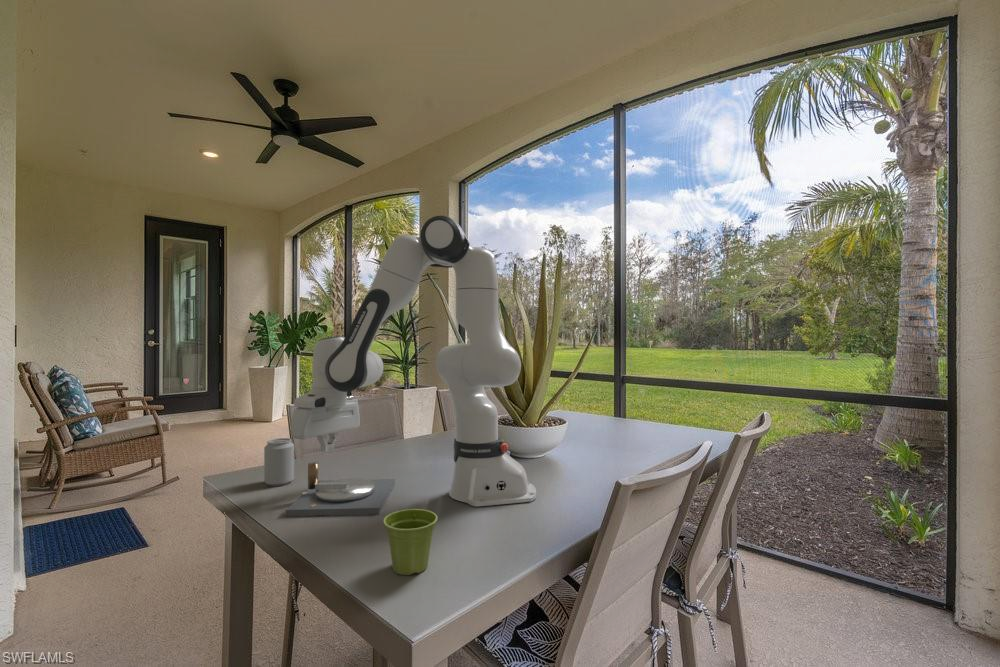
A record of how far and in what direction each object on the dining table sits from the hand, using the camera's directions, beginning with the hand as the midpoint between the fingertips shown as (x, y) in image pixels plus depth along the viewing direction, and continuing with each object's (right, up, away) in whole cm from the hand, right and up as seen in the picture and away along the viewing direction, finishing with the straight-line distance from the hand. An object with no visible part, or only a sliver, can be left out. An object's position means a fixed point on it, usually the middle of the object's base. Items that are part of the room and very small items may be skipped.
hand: (327, 450), depth 121 cm
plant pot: (+29, -11, -39) cm, 50 cm away
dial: (+5, -9, -5) cm, 12 cm away
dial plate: (+7, -11, -5) cm, 14 cm away
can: (-16, -11, +8) cm, 21 cm away
